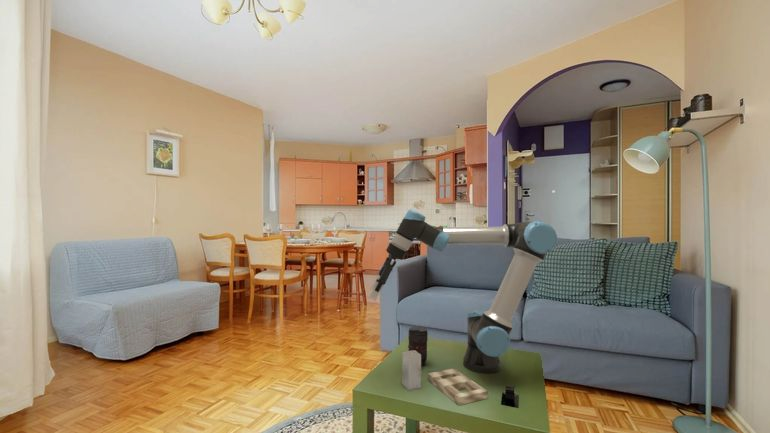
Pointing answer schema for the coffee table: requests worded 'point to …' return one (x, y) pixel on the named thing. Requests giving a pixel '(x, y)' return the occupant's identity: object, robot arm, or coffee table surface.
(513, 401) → the black mounting bracket
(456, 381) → the plate
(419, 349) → the camera lens
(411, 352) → the square peg
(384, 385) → the coffee table surface
